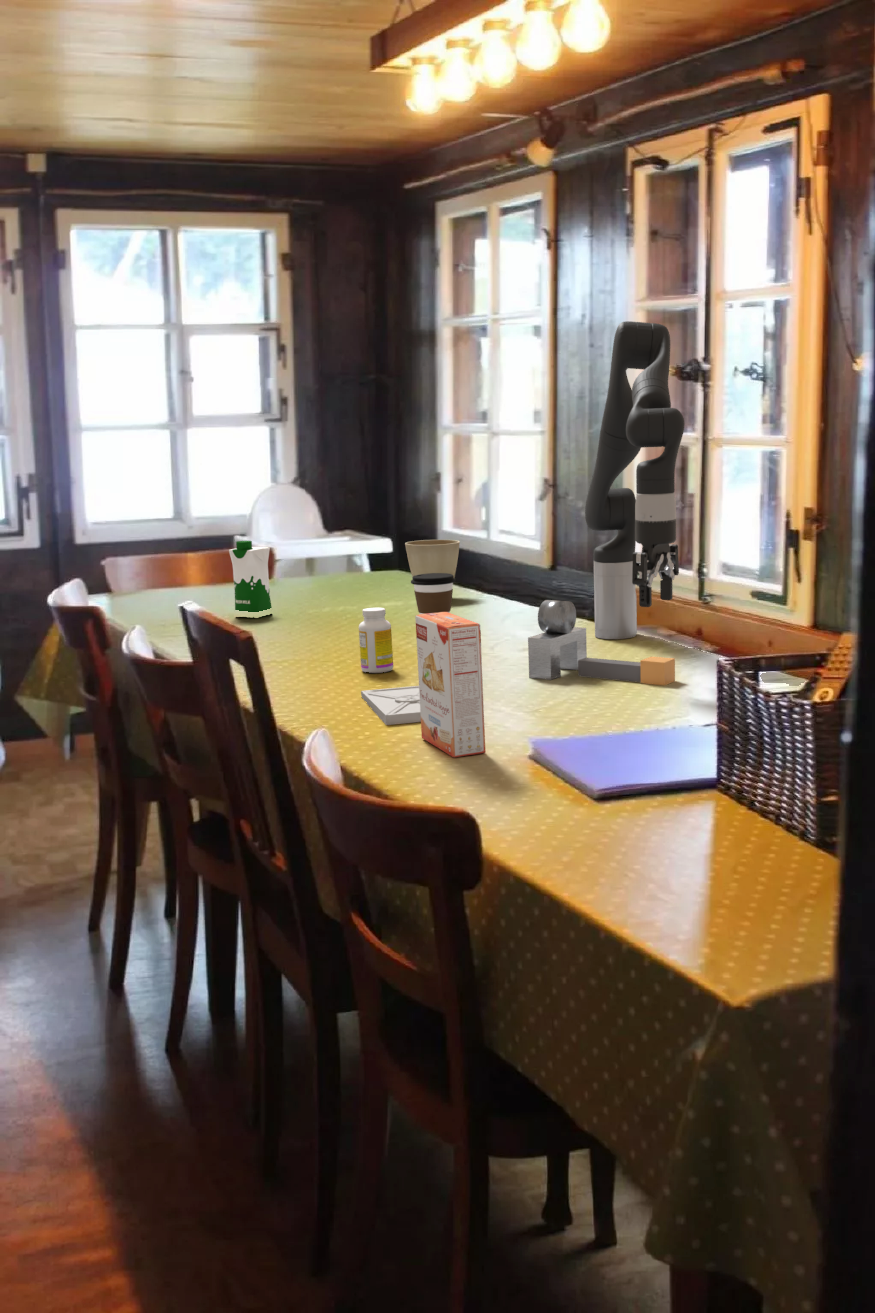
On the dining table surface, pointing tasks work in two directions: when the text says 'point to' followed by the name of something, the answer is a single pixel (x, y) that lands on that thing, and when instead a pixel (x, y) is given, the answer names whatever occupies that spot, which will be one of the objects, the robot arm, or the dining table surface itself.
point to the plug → (630, 670)
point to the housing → (556, 641)
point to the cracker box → (450, 683)
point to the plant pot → (432, 556)
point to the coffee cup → (433, 592)
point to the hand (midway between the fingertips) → (656, 603)
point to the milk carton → (250, 577)
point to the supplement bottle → (375, 641)
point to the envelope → (395, 704)
